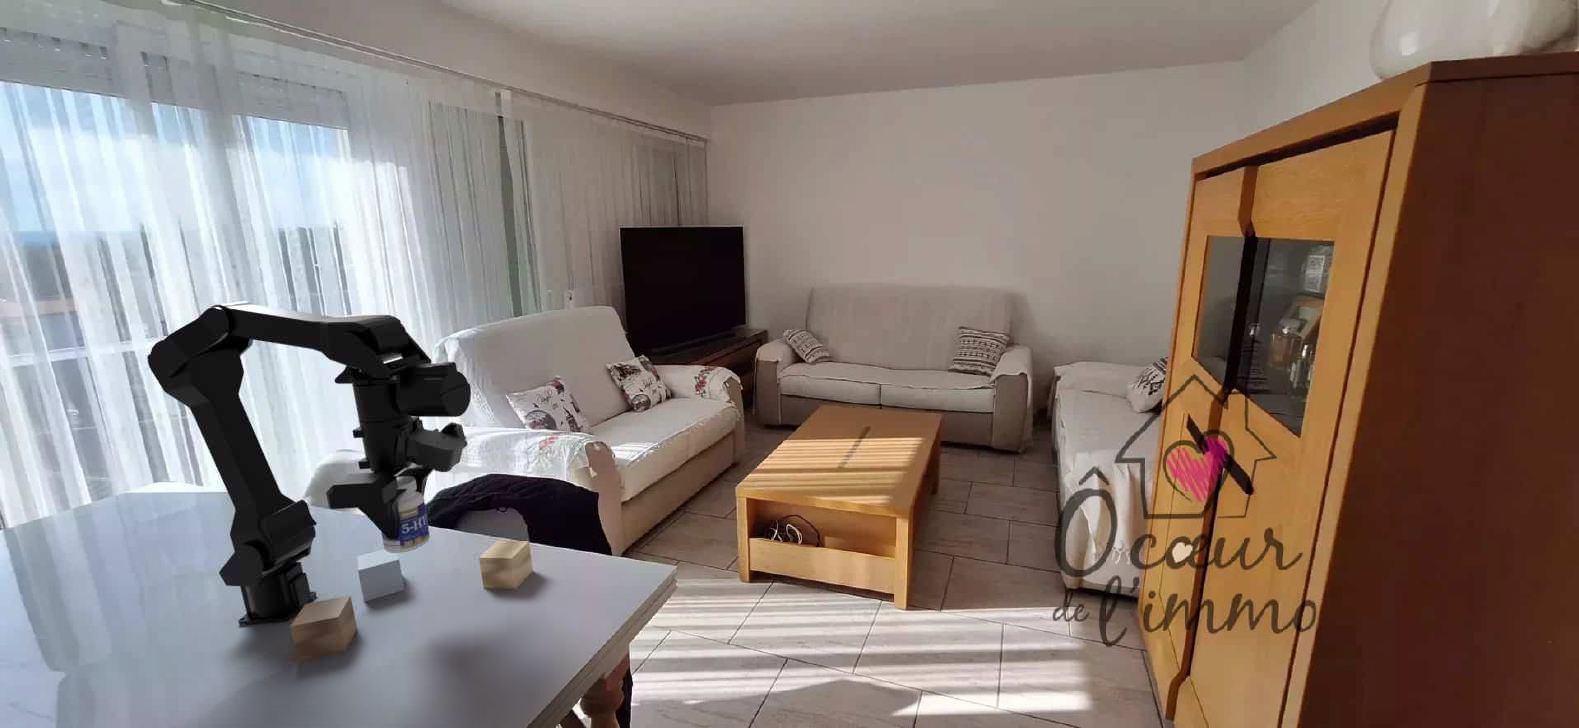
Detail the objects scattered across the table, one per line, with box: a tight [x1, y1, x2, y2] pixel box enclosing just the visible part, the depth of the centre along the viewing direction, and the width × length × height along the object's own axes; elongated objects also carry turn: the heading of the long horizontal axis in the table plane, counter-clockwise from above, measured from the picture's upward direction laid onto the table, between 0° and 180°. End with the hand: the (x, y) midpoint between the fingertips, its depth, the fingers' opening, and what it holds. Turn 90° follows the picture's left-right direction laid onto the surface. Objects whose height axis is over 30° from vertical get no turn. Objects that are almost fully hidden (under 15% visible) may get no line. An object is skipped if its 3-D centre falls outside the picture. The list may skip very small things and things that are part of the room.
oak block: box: [478, 540, 534, 590], centre depth 95 cm, size 5×5×5 cm
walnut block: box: [289, 594, 358, 663], centre depth 81 cm, size 5×5×5 cm
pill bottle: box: [380, 476, 430, 554], centre depth 84 cm, size 5×5×9 cm
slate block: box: [356, 548, 405, 602], centre depth 93 cm, size 5×5×5 cm
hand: (405, 528), depth 84 cm, fingers closed on pill bottle, 5 cm apart
